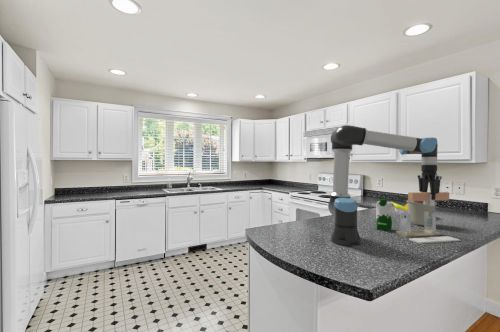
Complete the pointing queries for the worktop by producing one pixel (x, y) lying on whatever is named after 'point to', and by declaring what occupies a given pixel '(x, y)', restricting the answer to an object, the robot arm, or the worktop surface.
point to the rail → (427, 196)
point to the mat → (433, 239)
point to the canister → (419, 211)
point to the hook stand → (428, 230)
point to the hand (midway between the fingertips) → (428, 204)
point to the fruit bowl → (401, 208)
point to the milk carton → (384, 215)
